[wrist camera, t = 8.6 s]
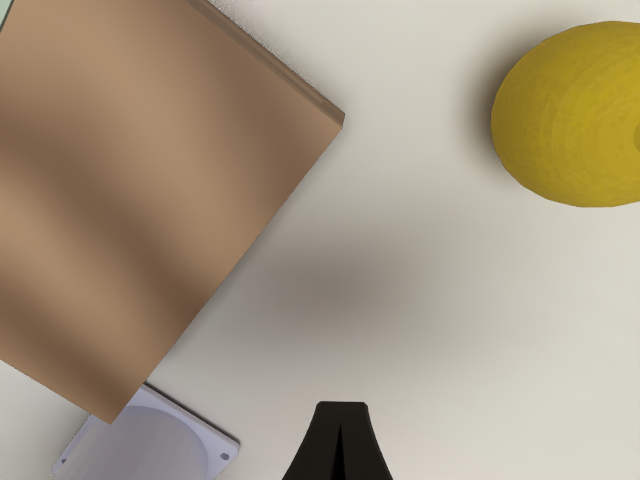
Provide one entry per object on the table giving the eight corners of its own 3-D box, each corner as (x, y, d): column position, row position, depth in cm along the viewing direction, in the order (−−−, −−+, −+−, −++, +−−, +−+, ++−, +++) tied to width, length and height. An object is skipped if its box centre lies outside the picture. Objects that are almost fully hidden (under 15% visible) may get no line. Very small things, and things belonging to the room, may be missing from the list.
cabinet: (158, 355, 24) (110, 425, 19) (-11, 246, 22) (-110, 293, 17) (344, 113, 18) (341, 128, 14) (141, -54, 17) (58, -103, 12)
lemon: (504, 199, 19) (600, 280, 12) (443, 88, 18) (509, 100, 10) (631, 127, 18) (833, 168, 10) (577, 0, 16) (766, -60, 9)
